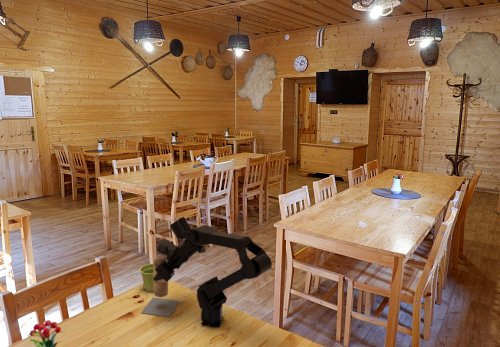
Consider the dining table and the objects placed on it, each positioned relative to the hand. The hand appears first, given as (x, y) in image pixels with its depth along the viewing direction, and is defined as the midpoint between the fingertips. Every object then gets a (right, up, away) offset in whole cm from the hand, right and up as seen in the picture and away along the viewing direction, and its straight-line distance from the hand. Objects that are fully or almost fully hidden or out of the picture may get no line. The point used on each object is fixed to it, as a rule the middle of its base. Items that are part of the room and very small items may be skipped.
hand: (157, 276), depth 140 cm
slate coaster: (+1, -12, +2) cm, 12 cm away
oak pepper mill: (+1, -7, +1) cm, 7 cm away
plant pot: (-6, -9, +16) cm, 20 cm away
